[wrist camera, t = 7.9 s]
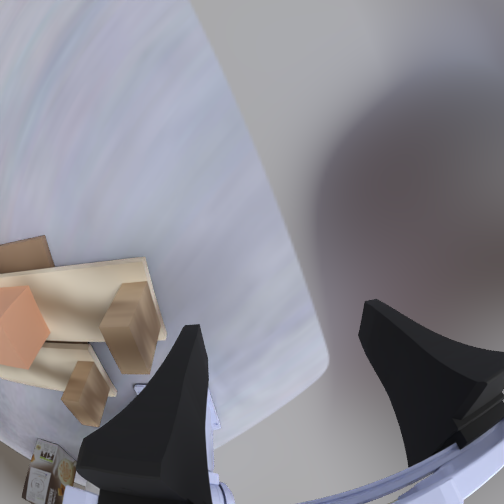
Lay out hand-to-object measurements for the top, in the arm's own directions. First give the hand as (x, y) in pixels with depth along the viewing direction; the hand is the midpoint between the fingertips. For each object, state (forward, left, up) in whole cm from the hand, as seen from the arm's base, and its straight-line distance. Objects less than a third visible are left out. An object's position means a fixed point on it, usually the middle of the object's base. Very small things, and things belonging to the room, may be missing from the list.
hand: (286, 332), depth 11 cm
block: (-3, +22, -8) cm, 24 cm away
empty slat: (-11, +26, -9) cm, 30 cm away
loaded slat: (-3, +18, -9) cm, 21 cm away
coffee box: (-41, +44, -10) cm, 61 cm away
